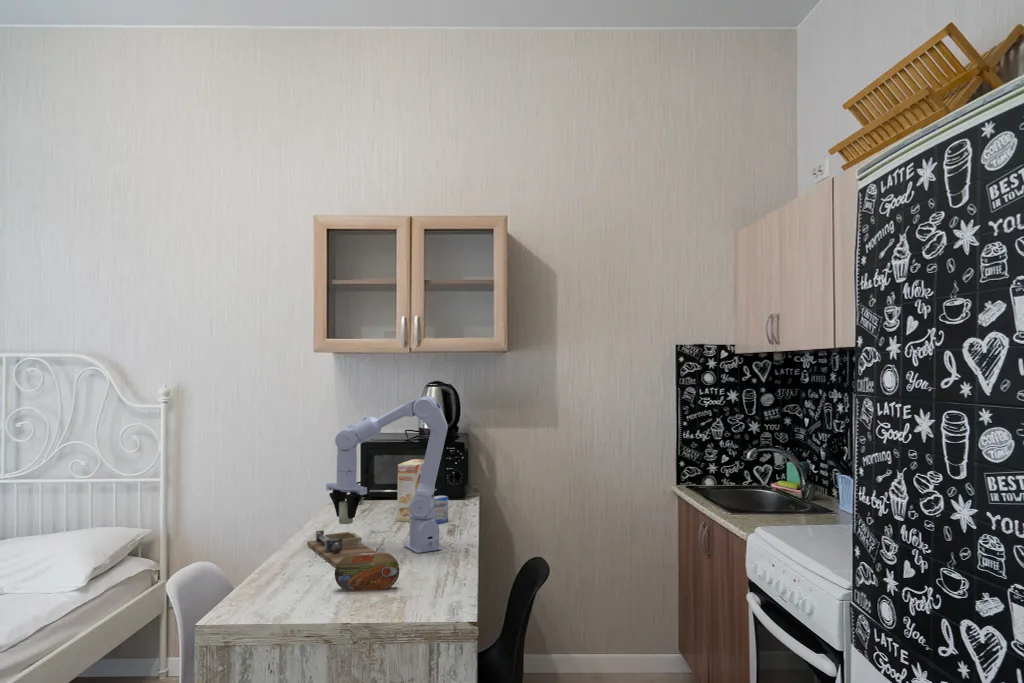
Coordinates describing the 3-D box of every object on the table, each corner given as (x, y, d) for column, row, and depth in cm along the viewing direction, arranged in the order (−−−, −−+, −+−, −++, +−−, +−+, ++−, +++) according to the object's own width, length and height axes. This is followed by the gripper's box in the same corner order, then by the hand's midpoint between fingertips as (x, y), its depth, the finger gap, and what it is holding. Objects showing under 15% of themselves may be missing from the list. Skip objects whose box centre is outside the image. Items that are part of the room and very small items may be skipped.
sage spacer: (355, 521, 206) (355, 501, 206) (348, 524, 202) (348, 503, 202) (343, 520, 207) (343, 500, 207) (336, 523, 203) (336, 503, 203)
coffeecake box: (415, 522, 237) (416, 464, 238) (396, 521, 239) (396, 464, 240) (429, 513, 252) (430, 459, 253) (410, 512, 254) (411, 458, 254)
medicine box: (432, 525, 232) (432, 499, 233) (422, 523, 235) (423, 498, 235) (448, 521, 239) (448, 496, 239) (439, 520, 241) (439, 494, 242)
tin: (334, 592, 163) (334, 555, 163) (335, 588, 166) (336, 552, 167) (399, 589, 165) (399, 553, 165) (399, 585, 168) (399, 550, 169)
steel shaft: (341, 552, 192) (342, 542, 193) (332, 553, 191) (332, 543, 191) (325, 540, 206) (325, 531, 206) (316, 541, 204) (316, 532, 204)
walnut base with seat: (385, 562, 188) (385, 550, 188) (338, 569, 181) (338, 557, 181) (350, 540, 212) (350, 529, 212) (307, 545, 205) (307, 534, 206)
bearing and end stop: (342, 550, 195) (342, 538, 195) (326, 552, 193) (326, 540, 193) (326, 539, 207) (326, 528, 208) (311, 541, 205) (311, 530, 205)
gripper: (374, 470, 205) (373, 517, 204) (338, 467, 212) (337, 511, 212) (357, 473, 199) (356, 521, 198) (321, 469, 206) (320, 516, 206)
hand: (345, 517), depth 204 cm, fingers closed on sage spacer, 4 cm apart
